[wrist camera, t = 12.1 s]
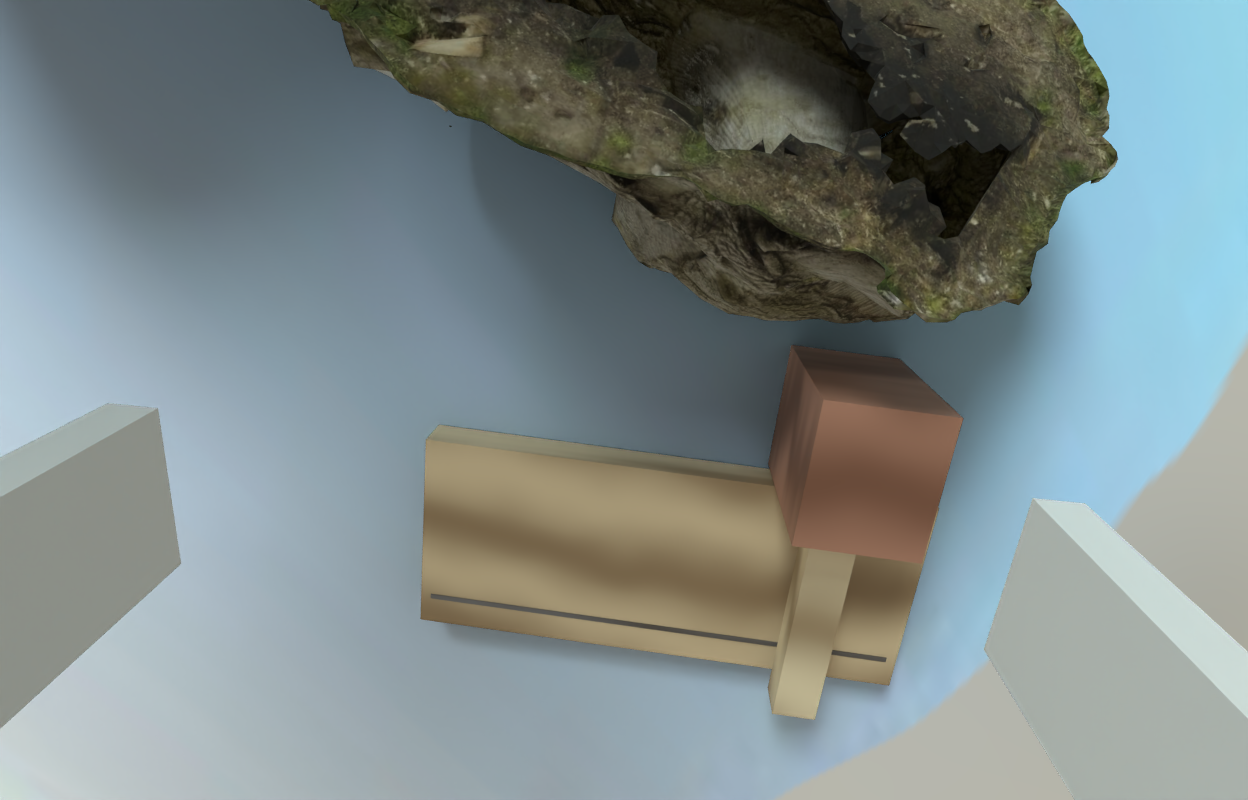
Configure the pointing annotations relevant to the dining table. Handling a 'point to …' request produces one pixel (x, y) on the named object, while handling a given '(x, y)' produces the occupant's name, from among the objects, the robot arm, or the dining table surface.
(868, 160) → the hollow geode rock
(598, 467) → the board
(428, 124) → the dining table surface
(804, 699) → the brown block with handle
